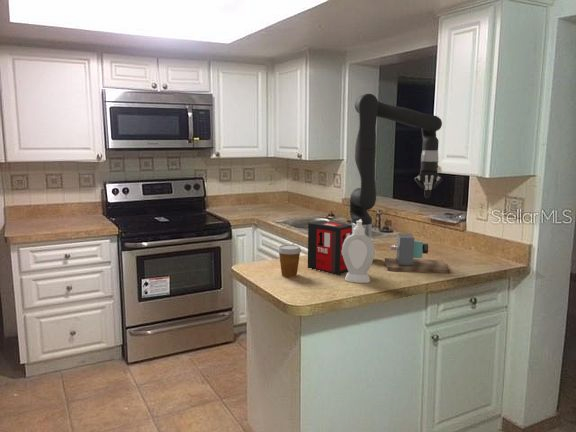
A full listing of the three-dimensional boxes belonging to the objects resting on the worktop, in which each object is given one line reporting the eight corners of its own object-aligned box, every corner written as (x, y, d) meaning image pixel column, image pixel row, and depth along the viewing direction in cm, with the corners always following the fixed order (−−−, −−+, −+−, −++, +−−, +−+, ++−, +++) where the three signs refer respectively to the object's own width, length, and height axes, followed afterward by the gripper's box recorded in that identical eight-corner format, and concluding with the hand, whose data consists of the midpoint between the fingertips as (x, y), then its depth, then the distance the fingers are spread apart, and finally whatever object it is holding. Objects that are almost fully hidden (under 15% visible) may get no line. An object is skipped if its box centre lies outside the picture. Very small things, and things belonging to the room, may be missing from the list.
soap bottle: (374, 278, 194) (377, 219, 190) (372, 284, 187) (375, 223, 183) (343, 276, 198) (344, 217, 194) (340, 281, 190) (341, 221, 186)
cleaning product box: (307, 268, 209) (308, 223, 206) (319, 264, 216) (320, 220, 213) (339, 275, 199) (340, 228, 195) (350, 270, 205) (352, 225, 202)
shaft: (391, 253, 211) (391, 243, 210) (390, 250, 215) (391, 241, 214) (427, 254, 209) (428, 244, 208) (426, 252, 213) (426, 242, 212)
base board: (387, 270, 206) (387, 267, 206) (384, 261, 222) (384, 257, 222) (449, 273, 203) (449, 269, 203) (442, 263, 219) (442, 260, 219)
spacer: (412, 257, 209) (413, 241, 209) (411, 256, 214) (411, 240, 214) (422, 258, 208) (422, 242, 208) (420, 256, 214) (420, 241, 214)
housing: (398, 265, 208) (400, 237, 206) (396, 260, 218) (397, 233, 216) (412, 266, 208) (414, 238, 206) (409, 260, 217) (411, 233, 215)
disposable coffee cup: (281, 279, 193) (281, 250, 191) (275, 272, 202) (275, 244, 200) (303, 277, 195) (304, 248, 193) (296, 271, 204) (297, 243, 202)
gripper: (442, 160, 223) (440, 197, 226) (413, 159, 224) (411, 196, 227) (446, 161, 215) (443, 199, 218) (415, 160, 217) (413, 198, 220)
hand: (427, 197), depth 223 cm, fingers closed
